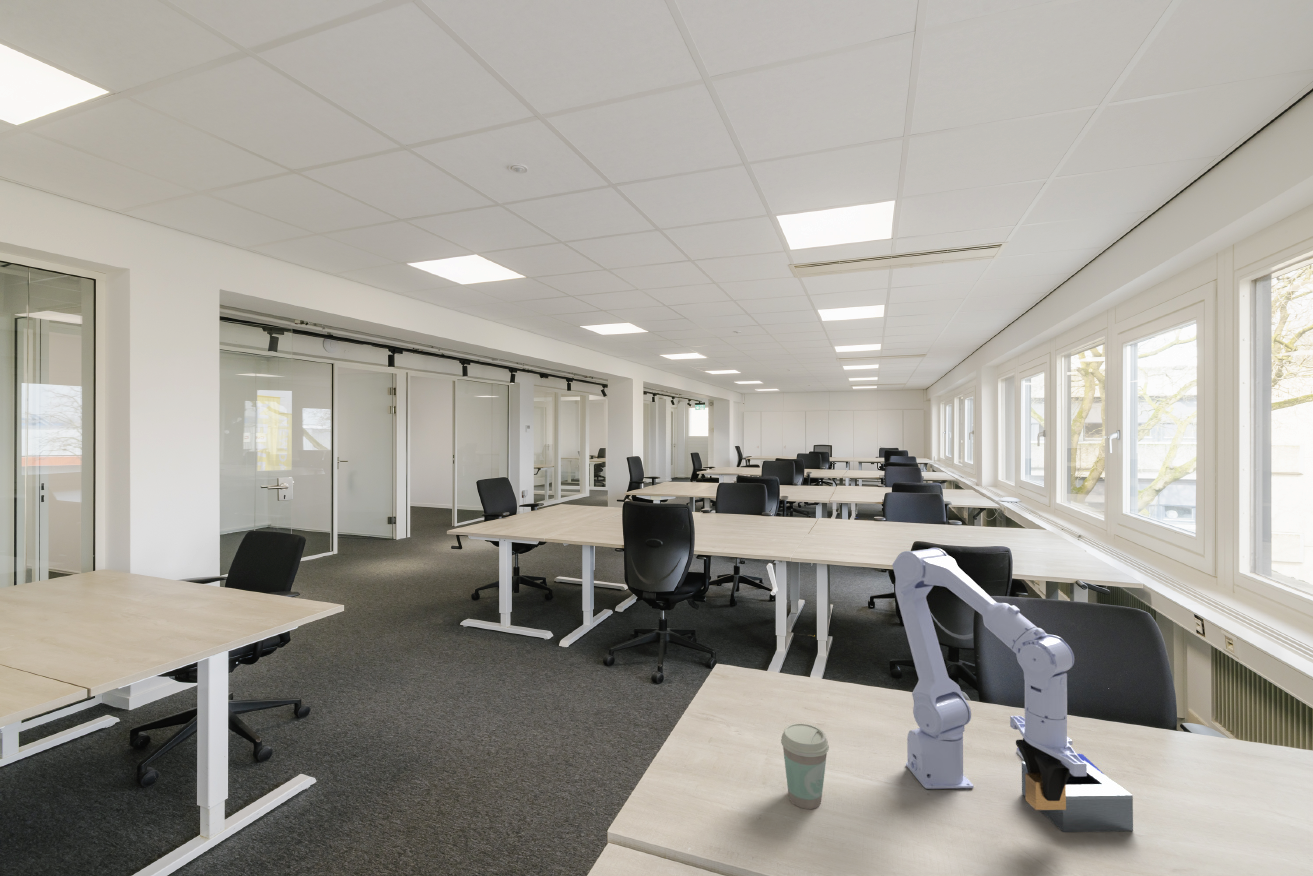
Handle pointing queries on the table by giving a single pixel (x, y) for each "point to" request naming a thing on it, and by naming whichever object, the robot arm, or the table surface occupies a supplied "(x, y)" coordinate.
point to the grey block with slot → (1091, 804)
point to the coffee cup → (805, 763)
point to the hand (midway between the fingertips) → (1045, 793)
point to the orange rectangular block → (1041, 794)
